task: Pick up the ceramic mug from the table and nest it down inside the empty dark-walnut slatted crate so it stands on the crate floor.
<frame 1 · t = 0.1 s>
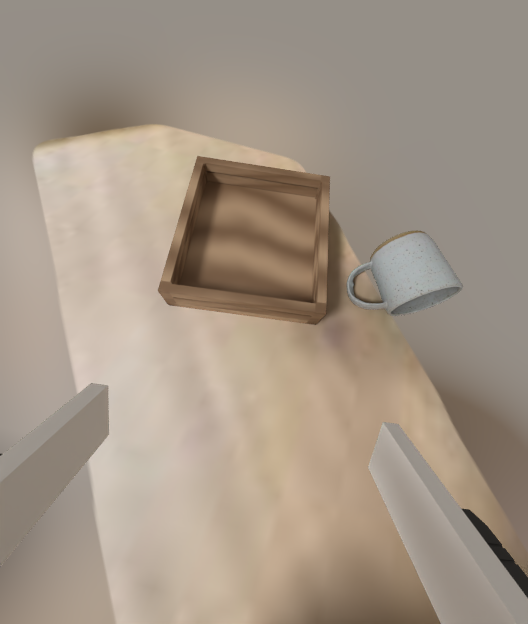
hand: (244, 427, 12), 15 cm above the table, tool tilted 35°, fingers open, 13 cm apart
crate: (253, 246, 34), on the table
ceramic mug: (382, 291, 33), on the table
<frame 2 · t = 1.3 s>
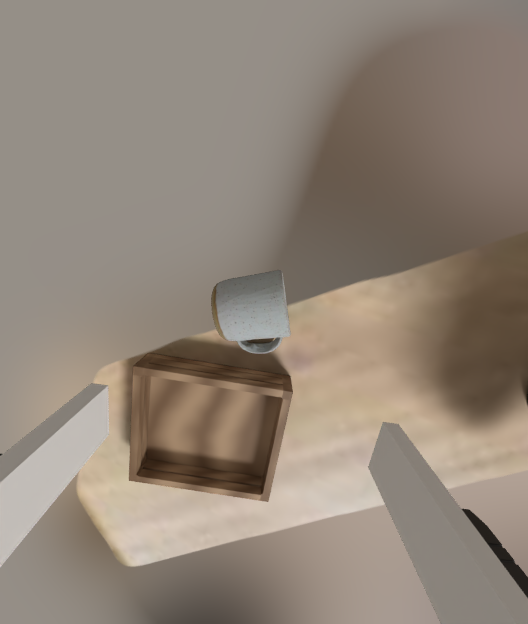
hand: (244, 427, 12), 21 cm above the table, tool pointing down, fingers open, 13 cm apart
crate: (212, 419, 37), on the table
ceramic mug: (259, 310, 33), on the table
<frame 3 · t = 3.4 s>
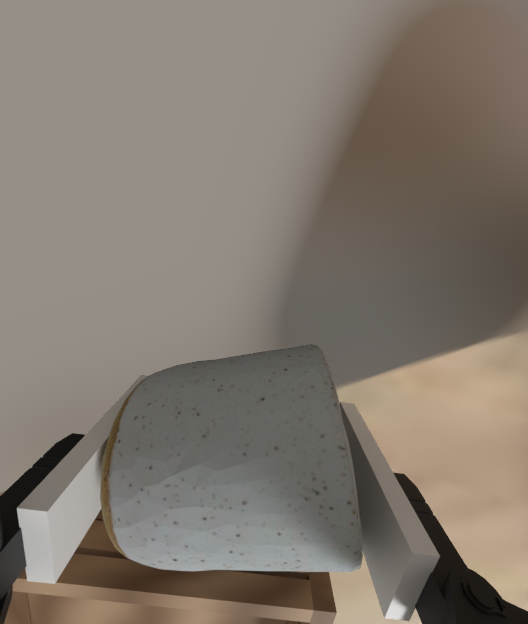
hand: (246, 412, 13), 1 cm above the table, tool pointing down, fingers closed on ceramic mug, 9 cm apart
crate: (164, 599, 19), on the table
ceramic mug: (256, 411, 15), on the table, touching gripper
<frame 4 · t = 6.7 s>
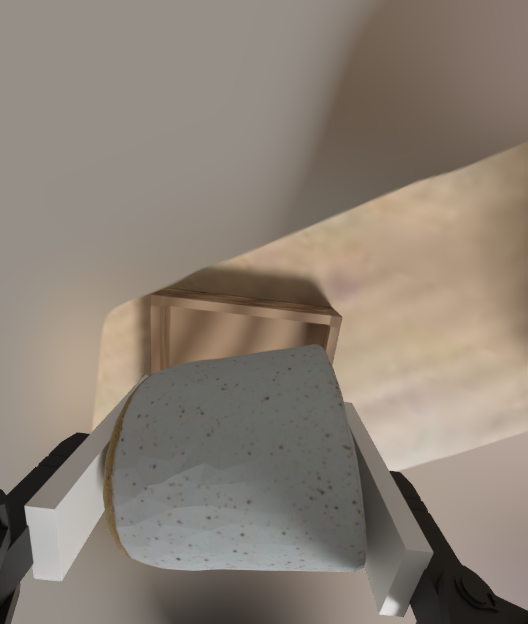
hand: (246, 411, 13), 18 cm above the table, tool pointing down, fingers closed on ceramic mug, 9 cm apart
crate: (242, 366, 32), on the table
ceramic mug: (257, 410, 15), point 16 cm above the table, touching gripper
when the fingers open (3 cm above the table, at t = 9.8 s): ceramic mug stays where it is, resting on crate.
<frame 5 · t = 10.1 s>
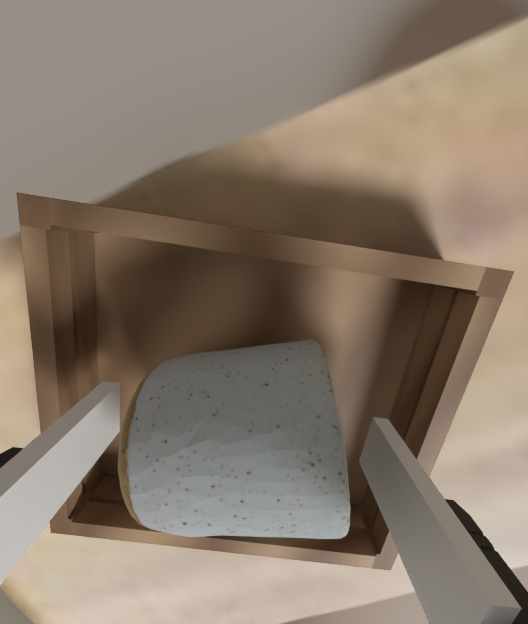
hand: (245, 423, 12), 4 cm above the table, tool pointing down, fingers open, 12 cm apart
crate: (249, 380, 16), on the table
ceramic mug: (255, 401, 16), point 1 cm above the table, touching crate
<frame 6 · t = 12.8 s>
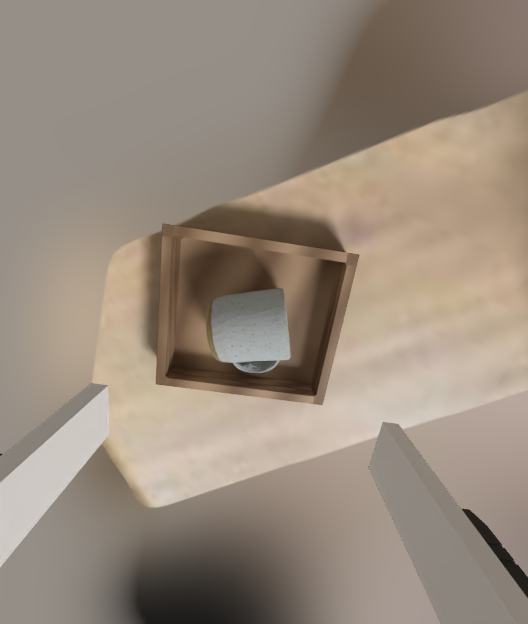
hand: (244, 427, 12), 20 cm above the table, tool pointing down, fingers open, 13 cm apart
crate: (252, 313, 31), on the table
ceramic mug: (255, 326, 31), point 1 cm above the table, touching crate
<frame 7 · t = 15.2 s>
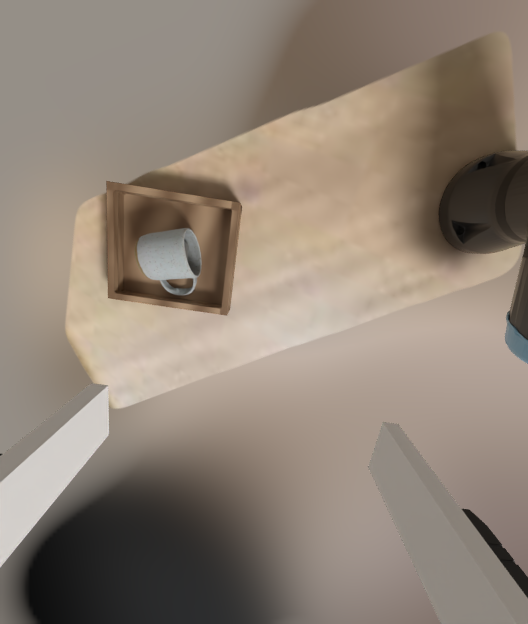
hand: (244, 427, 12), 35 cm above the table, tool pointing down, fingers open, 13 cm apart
crate: (178, 252, 44), on the table
ceramic mug: (181, 262, 43), point 1 cm above the table, touching crate
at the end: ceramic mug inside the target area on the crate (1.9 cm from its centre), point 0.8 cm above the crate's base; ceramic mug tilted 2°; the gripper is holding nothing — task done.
